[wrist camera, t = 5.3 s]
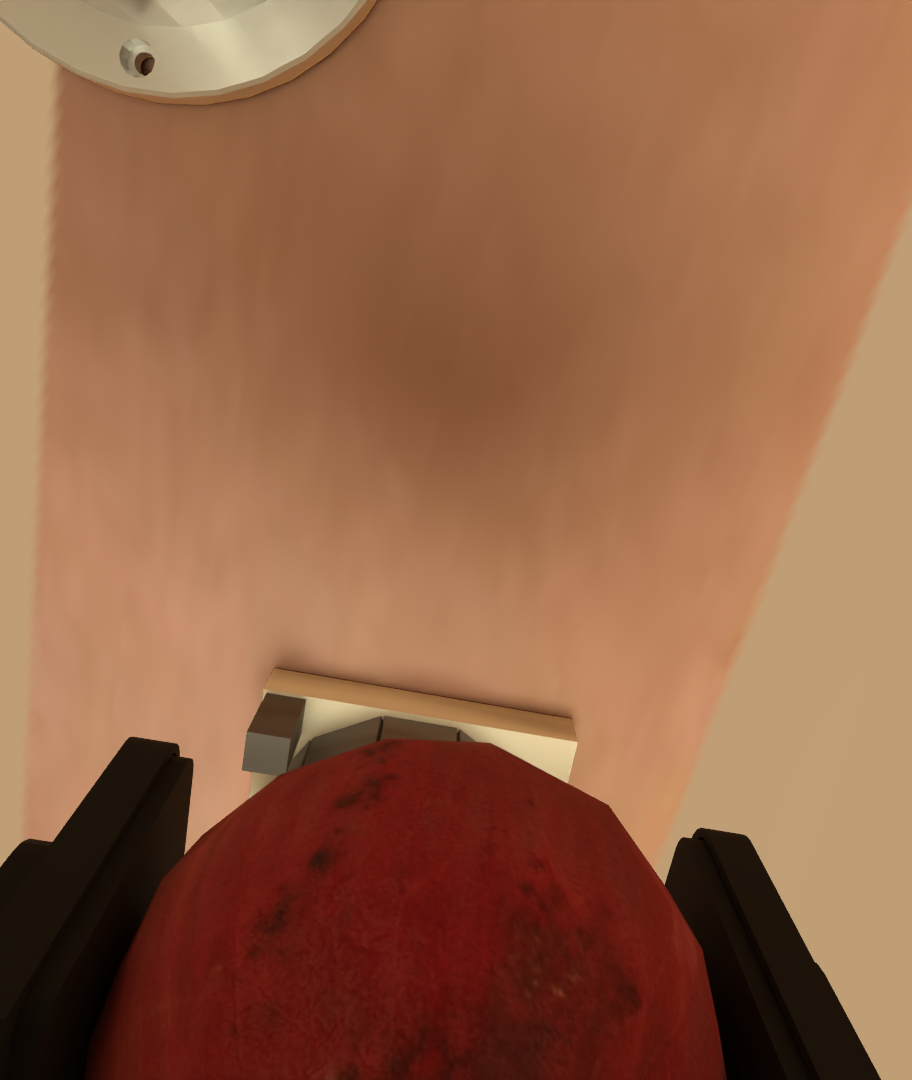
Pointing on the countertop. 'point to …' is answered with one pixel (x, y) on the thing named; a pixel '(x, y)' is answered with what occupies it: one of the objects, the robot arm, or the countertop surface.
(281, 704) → the cream flat ringed piece
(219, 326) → the countertop surface
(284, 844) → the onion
